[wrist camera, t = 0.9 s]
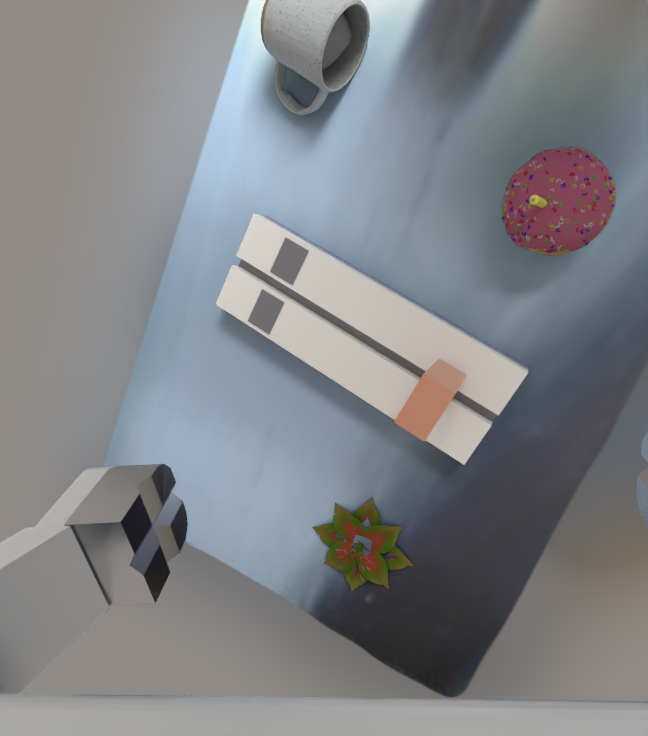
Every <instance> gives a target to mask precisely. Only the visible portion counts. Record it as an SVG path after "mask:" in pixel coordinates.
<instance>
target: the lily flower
mask: <svg viewBox="0 0 648 736" xmlns="http://www.w3.org/2000/svg"><path fill="white" fill-rule="evenodd" d="M335 506H336V507H335V515H334V521H333V523H330V524H325V525H321V526H319V527H312V528H313V529H315V531H316V532H317V534H318V535H320V538H321V539H322V541H323V542H324V543H325V544H327V545H328V546H329V547H331V548H330V549H329V551H328V553H327V556H326V560H327V561H325V563H324V564H327V565H329V566H334V568H336V569H338V570H343V573H344V576H345V578H346V580H347V582H348V584H349V585H350V586H351V591H353V590H354V589H356V588H357V587H358V586H361V585H362V584H364V583H365V582H366V581H367V580H369V581H371V582H373V583H376V584H379V585H384V586H385V587H387V588H389V586H388V580H387V579H388V570H398V569H402V568H405V567H407V566H408V565H409V566H415V565H413V564H412V563H411V562H410V561H409V560H408V558H406V557H405V555H404V554H403V553H402V552H401V551H400V550H399V549H398V548H397V547H396V546H395V543H396V541H397V539H398V536H399V531H401V529H402V528H403V526H400V527H399V526H392V527H390V526H382V525H381V521H380V518H379V515H378V512H377V510H376V507H375V506H374V504H373V499H372V498H371V499H370V500H369V501H368V502H366V503H365V505H362V506H361V507H360V508H358V509H357V510H356V511H355V513H354V514H353V515H351V514H350V513H349V512H347V511H346V510H344V509H343V508H341V507H339V505H337V504H336V503H335ZM367 518H368V519H369V521H370V524H371V526H369V527H367V528H366V529H365V530H364V527H363V525H362V523H363V522H364V521H365V520H366V519H367ZM334 534H337V535H338V536H339V537H340V538H342V539H343V540H341V541H340V540H339V539H338V538H337V537H336V535H334ZM355 534H357V535H360V536H364V537H367V538H369V539H371V540H372V550H371V549H370V550H371V553H370V555H369V556H366V555H364V553H363V547H364V549H365V550H367V549H366V548H365V546H364V544H363V545H362V543H363V542H362V543H361V542H360V543H359V539H358V543H353V539H354V537H355ZM353 545H357V546H358V547H357V546H354V547H357V548H356V549H354V550H352V548H354V547H353ZM370 550H367V551H370ZM389 551H390V553H391V554H392V555H394V556H395V557H397V558H398V559H395V558H388V559H384V558H383V557H382V555H381V554H380V553H387V552H389ZM361 552H362V554H361ZM357 564H358V567H359V570H358V572H357V573H356V574H355V568H354V567H355V566H356V565H357Z"/></svg>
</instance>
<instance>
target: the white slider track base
mask: <svg viewBox="0 0 648 736" xmlns="http://www.w3.org/2000/svg"><path fill="white" fill-rule="evenodd" d="M236 256H238V257H239V258H241V259H242V260H241V262H240V264H239V266H238V265H232V266H231V269H230V271H229V273H228V276H227V278H226V280H225V283H224V285H223V288H222V290H221V292H220V295H219V297H218V299H217V302H216V305H217V306H219V307H221V308H222V309H224V310H225V311H227V312H228V313H230V314H231V315H233V316H235V317H236V318H238V319H239V320H241V321H242V322H244V323H245V324H247V325H248V326H250V327H252V328H253V329H255V330H256V331H258V332H259V333H261V334H262V335H264V336H265V337H267V338H269V339H270V340H272V341H273V342H275V343H276V344H278V345H279V346H281V347H282V348H284V349H286V350H287V351H289V352H290V353H292V354H293V355H295V356H296V357H298V358H299V359H301V360H303V361H304V362H306V363H307V364H309V365H310V366H312V367H313V368H315V369H316V370H318V371H320V372H321V373H323V374H324V375H326V376H327V377H329V378H330V379H332V380H333V381H335V382H337V383H338V384H340V385H341V386H343V387H344V388H346V389H347V390H349V391H350V392H352V393H354V394H355V395H357V396H358V397H360V398H361V399H363V400H364V401H366V402H367V403H369V404H371V405H372V406H374V407H375V408H377V409H378V410H380V411H381V412H383V413H385V414H386V415H388V416H389V417H391V418H392V419H394V420H395V419H396V418H397V416H398V415H399V413H400V411H401V410H402V408H403V406H404V405H405V403H406V401H407V400H408V398H409V397H410V395H411V393H412V392H413V390H414V388H415V387H416V385H417V383H418V382H419V380H420V379H421V377H422V375H423V374H424V373H425V372H426V371H427V370H428V369H429V368H430V367H431V366H432V365H433V364H434V363H435V362H436V361H437V360H438V359H441V360H443V361H444V362H446V363H448V364H449V365H451V366H453V367H454V368H456V369H458V370H459V371H461V372H463V373H464V374H466V377H465V379H464V380H463V382H462V384H461V385H460V387H459V389H458V391H457V392H456V394H455V395H454V397H453V399H452V400H451V402H450V403H449V405H448V406H447V408H446V409H445V411H444V412H443V414H442V415H441V417H440V419H439V420H438V422H437V423H436V425H435V426H434V428H433V429H432V431H431V432H430V434H429V436H428V437H427V439H426V441H428V442H429V443H431V444H432V445H434V446H436V447H437V448H439V449H440V450H442V451H443V452H445V453H446V454H448V455H449V456H451V457H453V458H454V459H456V460H457V461H459V462H460V463H462V464H463V465H465V463H466V462H467V460H468V459H469V457H470V456H471V455H472V453H473V452H474V450H475V449H476V447H477V446H478V444H479V443H480V442H481V440H482V439H483V437H484V436H485V434H486V433H487V432H488V430H489V429H490V427H491V426H492V422H493V420H494V419H495V417H496V416H497V415H498V416H499V414H500V413H501V411H502V410H503V409H504V407H505V406H506V404H507V403H508V401H509V400H510V398H511V397H512V396H513V394H514V393H515V391H516V390H517V388H518V387H519V386H520V384H521V383H522V381H523V380H524V378H525V377H526V375H527V374H528V367H527V366H525V365H524V364H522V363H520V362H518V361H517V360H515V359H513V358H511V357H510V356H508V355H506V354H505V353H503V352H501V351H499V350H498V349H496V348H494V347H492V346H491V345H489V344H487V343H485V342H484V341H482V340H480V339H479V338H477V337H475V336H473V335H472V334H470V333H468V332H466V331H465V330H463V329H461V328H459V327H458V326H456V325H454V324H453V323H451V322H449V321H447V320H446V319H444V318H442V317H440V316H439V315H437V314H435V313H433V312H432V311H430V310H428V309H427V308H425V307H423V306H421V305H420V304H418V303H416V302H414V301H413V300H411V299H409V298H407V297H406V296H404V295H402V294H401V293H399V292H397V291H395V290H394V289H392V288H390V287H388V286H387V285H385V284H383V283H381V282H380V281H378V280H376V279H374V278H373V277H371V276H369V275H368V274H366V273H364V272H362V271H361V270H359V269H357V268H355V267H354V266H352V265H350V264H348V263H347V262H345V261H343V260H342V259H340V258H338V257H336V256H335V255H333V254H331V253H329V252H328V251H326V250H324V249H322V248H321V247H319V246H317V245H316V244H314V243H312V242H310V241H309V240H307V239H305V238H303V237H302V236H300V235H298V234H296V233H295V232H293V231H291V230H290V229H288V228H286V227H284V226H283V225H281V224H279V223H277V222H276V221H274V220H272V219H270V218H269V217H267V216H262V215H258V214H253V216H252V219H251V221H250V224H249V226H248V228H247V231H246V233H245V235H244V238H243V240H242V243H241V245H240V247H239V250H238V252H237V254H236Z"/></svg>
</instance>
